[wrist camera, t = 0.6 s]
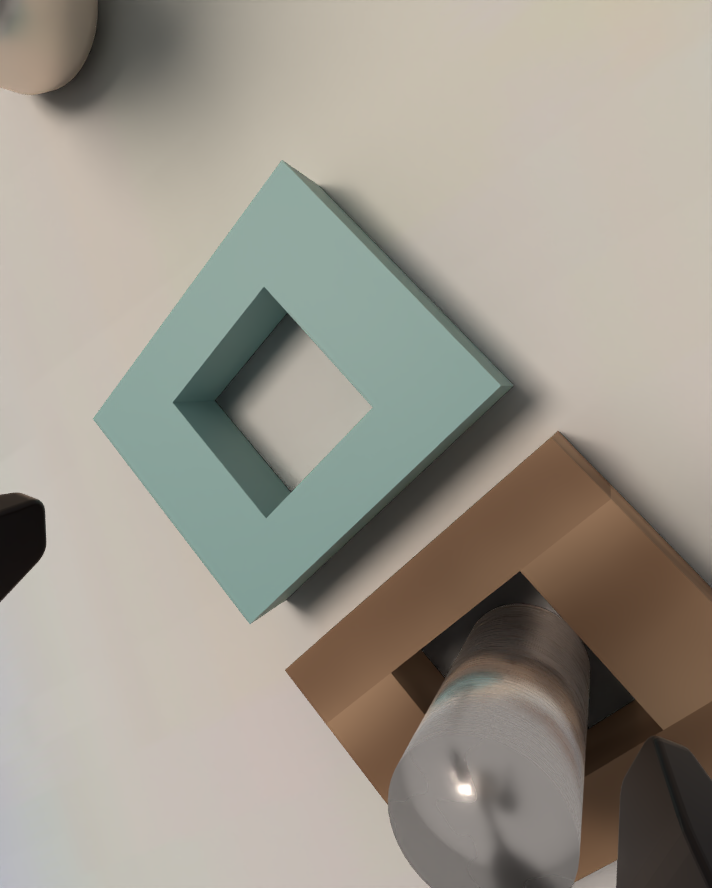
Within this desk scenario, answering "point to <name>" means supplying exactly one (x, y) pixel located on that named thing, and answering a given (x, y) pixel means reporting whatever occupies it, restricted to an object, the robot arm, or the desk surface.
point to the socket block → (572, 596)
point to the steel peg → (499, 759)
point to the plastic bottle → (44, 42)
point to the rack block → (348, 347)
